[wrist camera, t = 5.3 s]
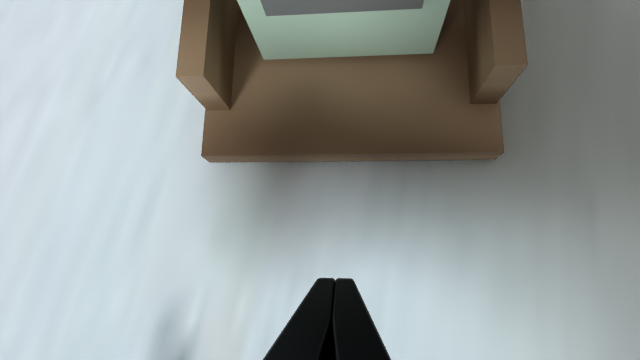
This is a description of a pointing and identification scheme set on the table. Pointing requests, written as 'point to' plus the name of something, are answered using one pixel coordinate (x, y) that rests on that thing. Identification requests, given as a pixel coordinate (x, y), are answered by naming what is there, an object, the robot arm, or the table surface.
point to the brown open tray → (352, 91)
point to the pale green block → (344, 27)
